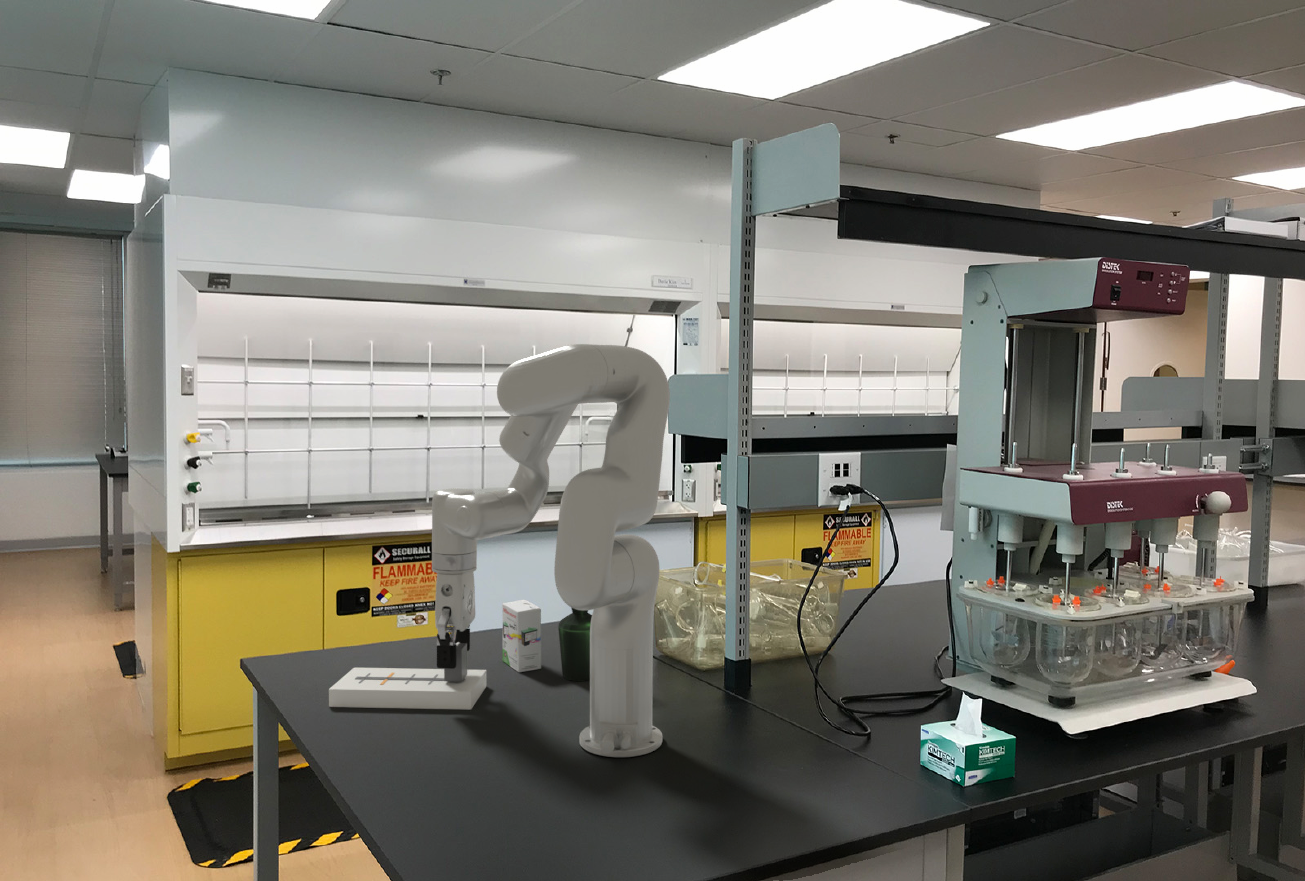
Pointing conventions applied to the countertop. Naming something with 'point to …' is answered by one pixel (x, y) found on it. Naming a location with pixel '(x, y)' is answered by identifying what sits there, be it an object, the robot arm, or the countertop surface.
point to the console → (406, 689)
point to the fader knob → (458, 665)
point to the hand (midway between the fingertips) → (453, 659)
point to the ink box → (522, 635)
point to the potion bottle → (575, 645)
